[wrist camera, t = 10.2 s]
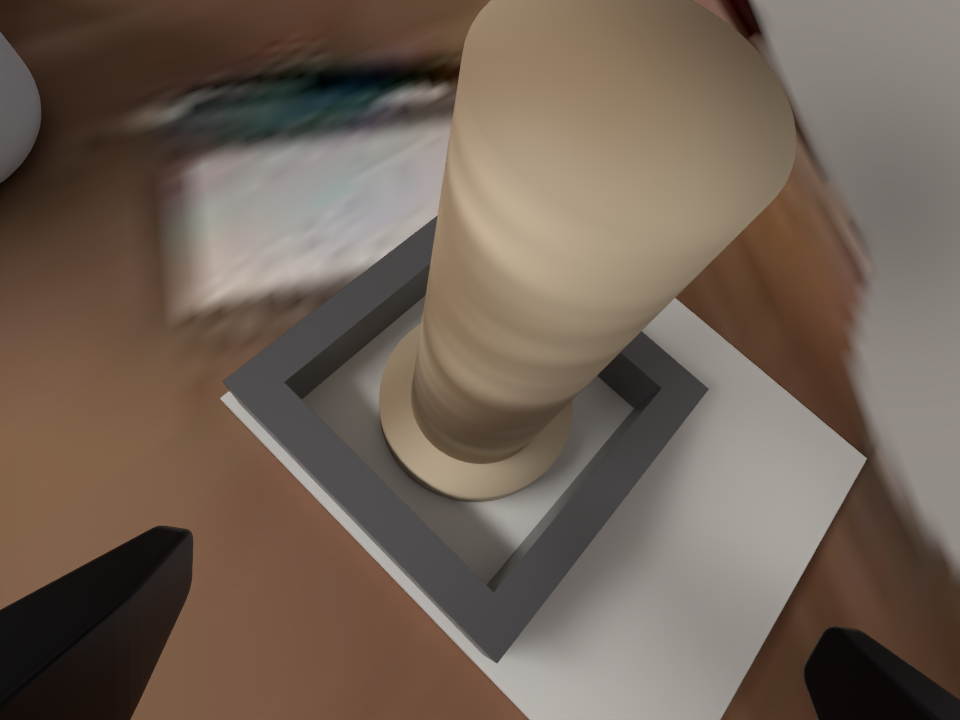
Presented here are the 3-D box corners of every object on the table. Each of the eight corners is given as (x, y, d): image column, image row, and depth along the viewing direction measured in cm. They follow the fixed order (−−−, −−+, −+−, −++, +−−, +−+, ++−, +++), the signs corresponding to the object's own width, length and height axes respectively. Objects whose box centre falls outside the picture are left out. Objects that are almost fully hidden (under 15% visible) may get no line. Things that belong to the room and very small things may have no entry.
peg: (594, 453, 19) (965, 217, 7) (426, 537, 17) (537, 408, 5) (511, 301, 21) (690, -97, 9) (350, 362, 19) (296, -44, 7)
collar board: (854, 461, 22) (918, 444, 19) (640, 835, 16) (691, 882, 13) (514, 175, 24) (530, 126, 22) (224, 404, 18) (200, 373, 16)
